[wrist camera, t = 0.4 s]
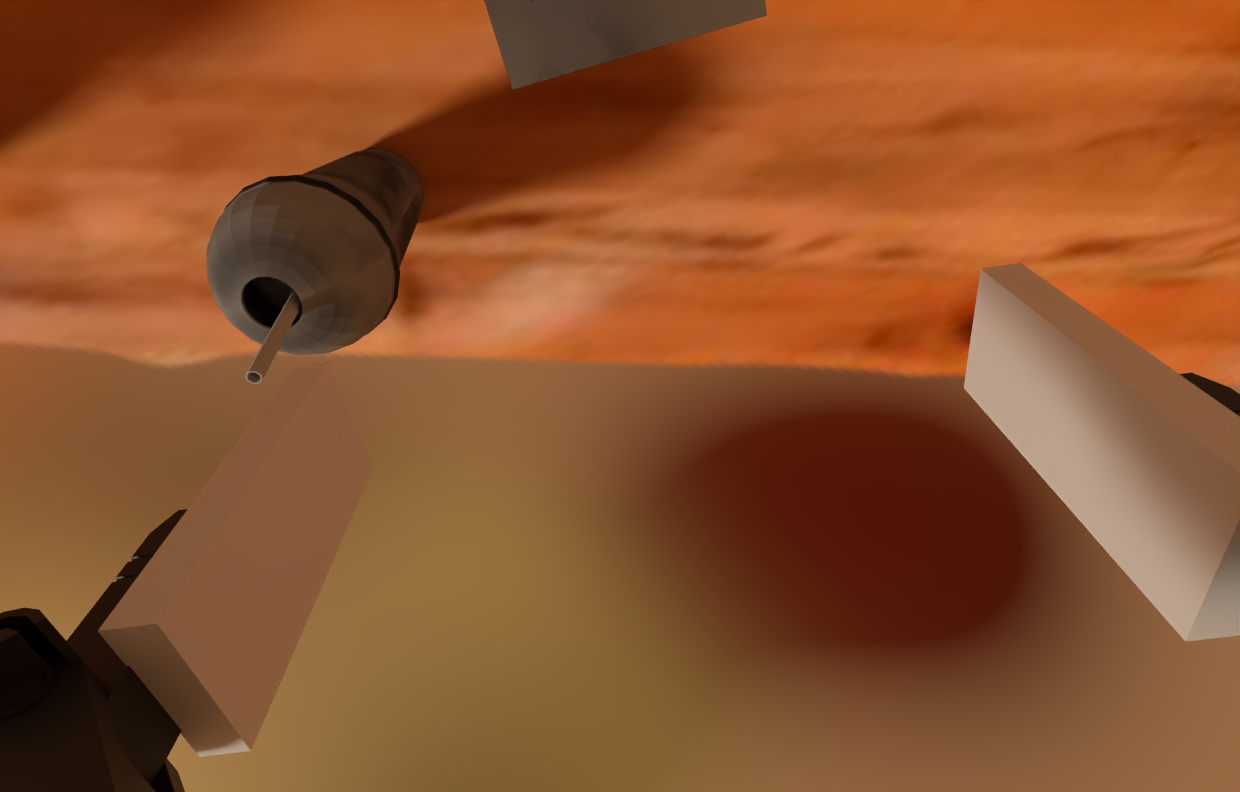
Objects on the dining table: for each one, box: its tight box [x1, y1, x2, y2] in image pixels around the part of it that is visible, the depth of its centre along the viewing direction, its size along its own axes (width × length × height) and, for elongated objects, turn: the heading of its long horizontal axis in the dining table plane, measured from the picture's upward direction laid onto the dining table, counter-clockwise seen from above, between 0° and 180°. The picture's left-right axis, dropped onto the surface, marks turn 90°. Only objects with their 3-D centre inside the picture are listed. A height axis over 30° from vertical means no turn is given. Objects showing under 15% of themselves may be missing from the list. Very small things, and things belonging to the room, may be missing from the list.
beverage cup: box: [207, 148, 424, 384], centre depth 30 cm, size 7×7×20 cm
